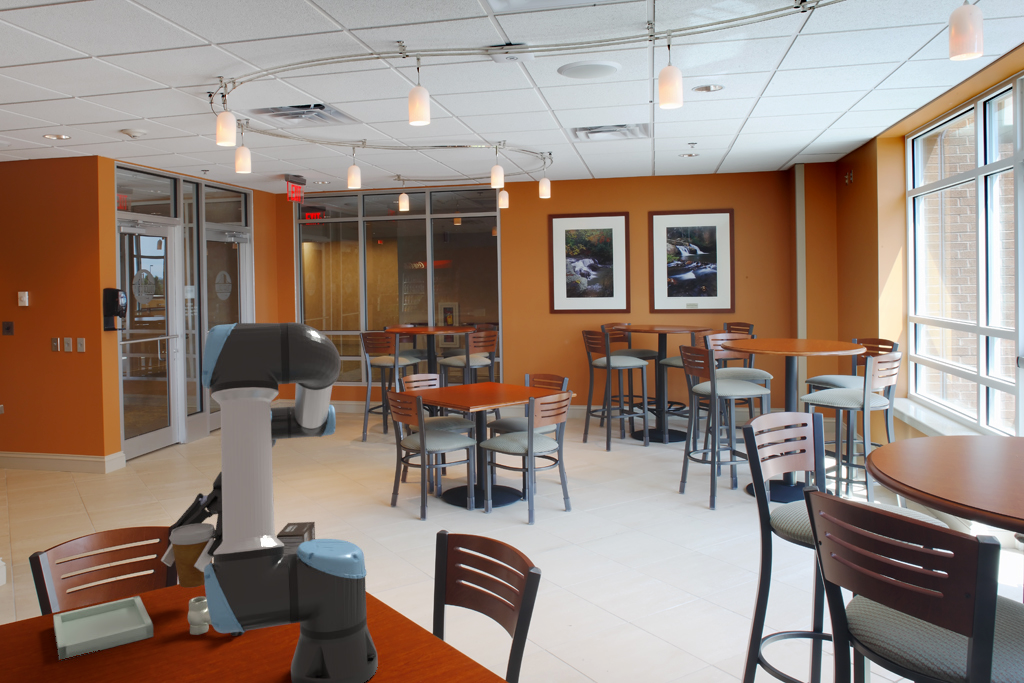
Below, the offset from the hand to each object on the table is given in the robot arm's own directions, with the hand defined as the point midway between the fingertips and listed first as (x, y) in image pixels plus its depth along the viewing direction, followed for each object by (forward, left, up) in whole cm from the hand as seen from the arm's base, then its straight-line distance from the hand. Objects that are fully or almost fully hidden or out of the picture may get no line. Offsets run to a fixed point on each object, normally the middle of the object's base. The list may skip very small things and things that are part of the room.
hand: (182, 566), depth 152 cm
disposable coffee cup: (+2, -3, -5) cm, 6 cm away
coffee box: (-8, -23, -10) cm, 26 cm away
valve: (-14, -3, -11) cm, 18 cm away
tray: (0, +15, -10) cm, 18 cm away
